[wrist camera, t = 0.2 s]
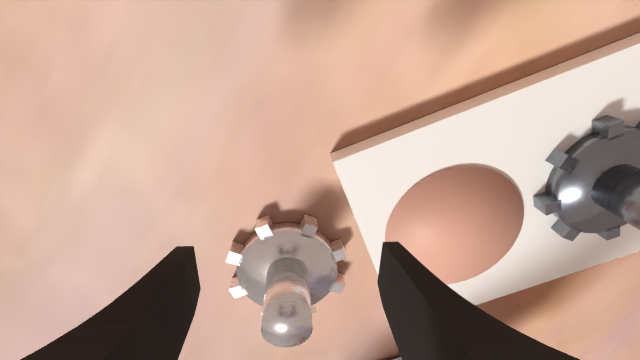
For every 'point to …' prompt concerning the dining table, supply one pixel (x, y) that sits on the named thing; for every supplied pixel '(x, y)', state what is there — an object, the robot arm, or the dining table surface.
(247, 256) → the aluminium gear
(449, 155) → the gear board
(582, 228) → the crank gear
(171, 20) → the dining table surface
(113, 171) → the dining table surface
